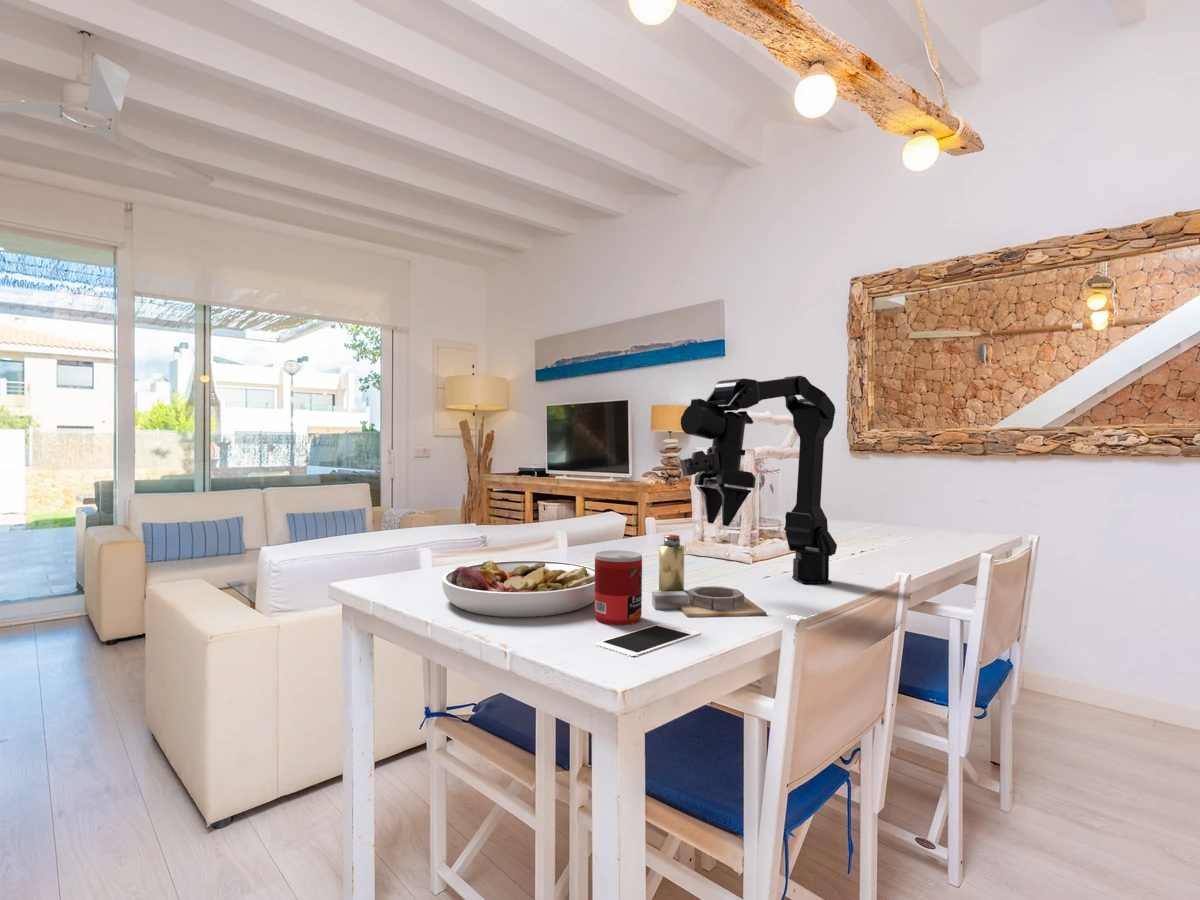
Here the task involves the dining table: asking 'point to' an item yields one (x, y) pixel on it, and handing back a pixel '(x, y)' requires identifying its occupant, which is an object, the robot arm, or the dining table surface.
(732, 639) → the dining table surface
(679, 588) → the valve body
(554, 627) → the dining table surface
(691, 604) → the socket
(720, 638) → the dining table surface
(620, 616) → the canned food
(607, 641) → the cell phone
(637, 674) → the dining table surface
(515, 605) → the bowl
